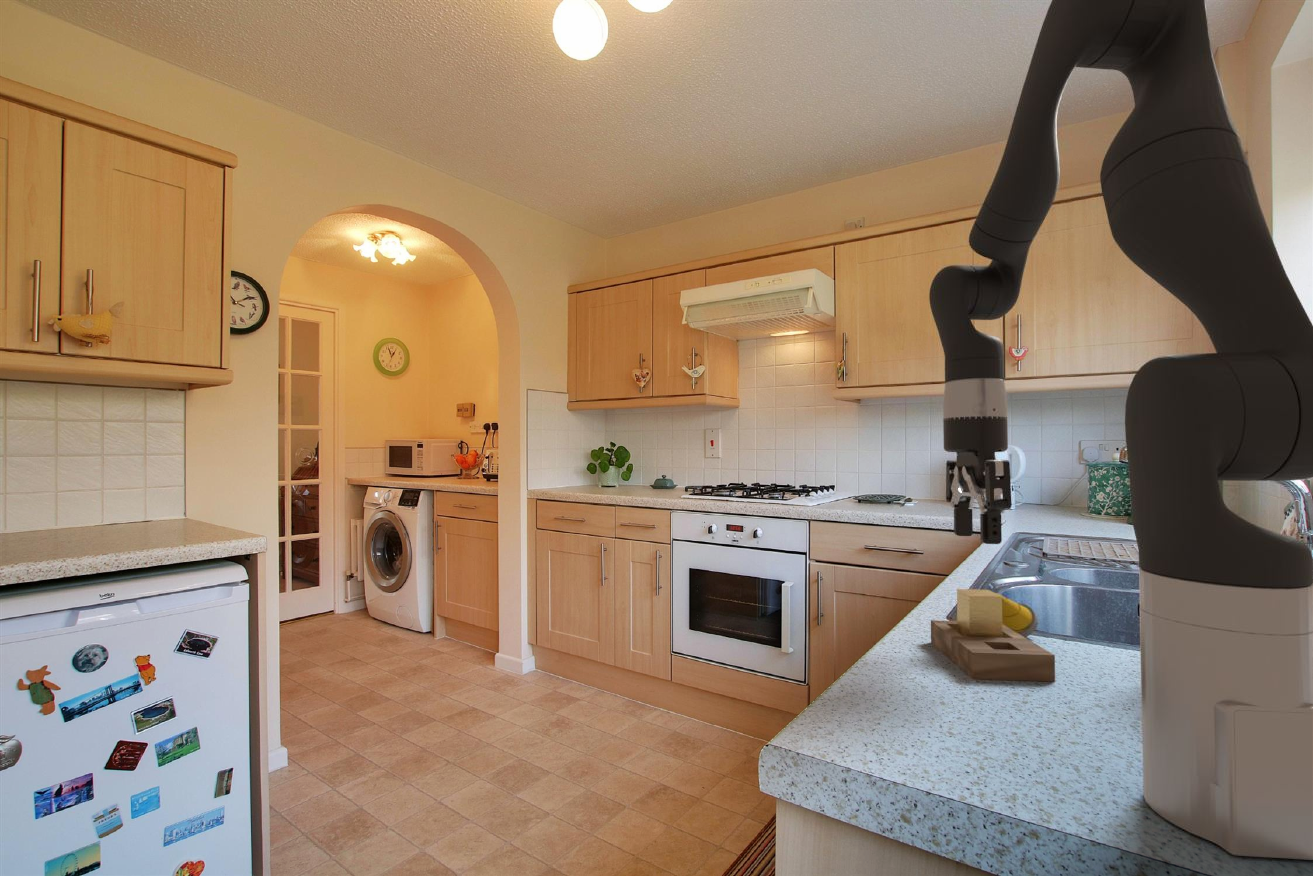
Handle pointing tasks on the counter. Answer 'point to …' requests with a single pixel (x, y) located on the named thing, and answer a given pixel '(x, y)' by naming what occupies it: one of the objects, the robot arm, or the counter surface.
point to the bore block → (994, 654)
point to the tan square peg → (979, 613)
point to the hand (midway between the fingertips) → (976, 539)
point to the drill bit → (1018, 617)
